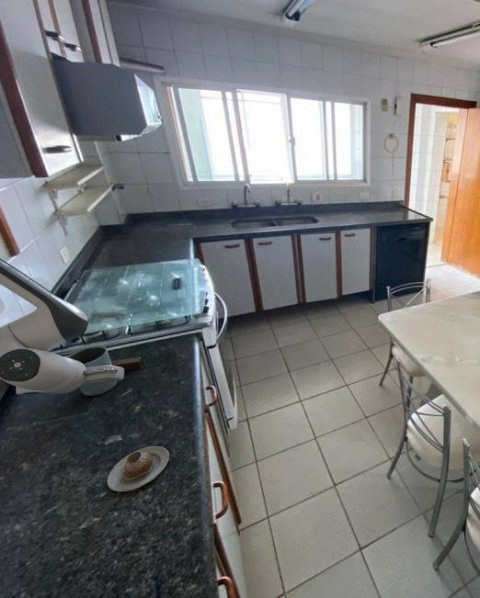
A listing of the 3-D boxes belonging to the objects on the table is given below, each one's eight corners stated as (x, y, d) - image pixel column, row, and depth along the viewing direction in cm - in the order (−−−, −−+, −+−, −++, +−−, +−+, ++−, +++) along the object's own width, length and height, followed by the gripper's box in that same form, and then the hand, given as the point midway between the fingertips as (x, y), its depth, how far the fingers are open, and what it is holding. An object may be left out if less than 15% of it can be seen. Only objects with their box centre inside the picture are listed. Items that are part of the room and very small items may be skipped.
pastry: (173, 443, 86) (168, 430, 84) (165, 482, 76) (159, 469, 74) (117, 458, 82) (110, 445, 79) (101, 502, 72) (93, 489, 70)
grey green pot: (122, 372, 109) (109, 342, 104) (118, 391, 102) (103, 359, 96) (82, 382, 105) (67, 351, 99) (74, 402, 97) (57, 370, 92)
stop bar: (80, 377, 107) (77, 369, 105) (84, 371, 109) (81, 364, 108) (140, 369, 112) (138, 361, 111) (143, 364, 115) (140, 356, 114)
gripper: (112, 357, 89) (133, 366, 101) (10, 370, 82) (46, 377, 94) (111, 380, 87) (132, 386, 99) (7, 395, 80) (44, 400, 92)
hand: (90, 382), depth 97 cm, fingers closed
